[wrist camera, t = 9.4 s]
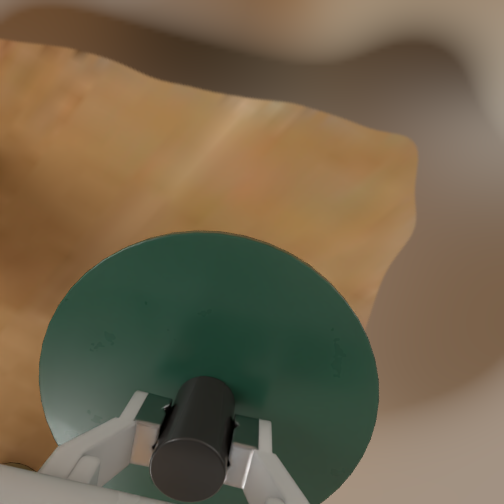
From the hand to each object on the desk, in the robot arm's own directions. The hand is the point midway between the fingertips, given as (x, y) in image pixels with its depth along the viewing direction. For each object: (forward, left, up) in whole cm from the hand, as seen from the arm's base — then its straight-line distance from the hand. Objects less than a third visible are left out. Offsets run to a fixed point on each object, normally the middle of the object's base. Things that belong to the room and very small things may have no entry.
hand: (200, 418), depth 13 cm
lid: (0, 0, -2) cm, 2 cm away
